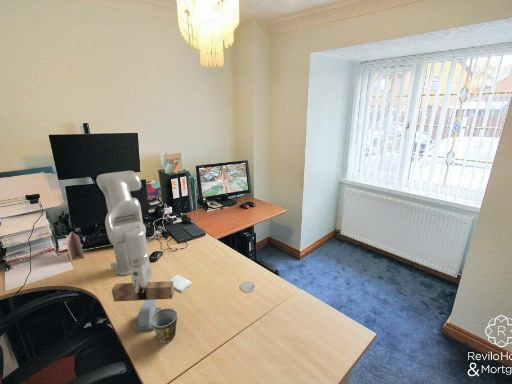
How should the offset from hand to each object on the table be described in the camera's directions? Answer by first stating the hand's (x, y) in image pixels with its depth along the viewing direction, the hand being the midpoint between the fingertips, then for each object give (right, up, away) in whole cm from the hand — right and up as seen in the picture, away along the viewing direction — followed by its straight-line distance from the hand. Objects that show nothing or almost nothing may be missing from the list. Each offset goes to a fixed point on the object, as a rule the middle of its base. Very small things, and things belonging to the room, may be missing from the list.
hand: (144, 294), depth 113 cm
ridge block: (0, -13, +4) cm, 13 cm away
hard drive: (+7, -6, +28) cm, 29 cm away
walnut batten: (0, -1, 0) cm, 1 cm away
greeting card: (-64, +4, +54) cm, 84 cm away
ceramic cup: (+12, -16, -6) cm, 21 cm away
